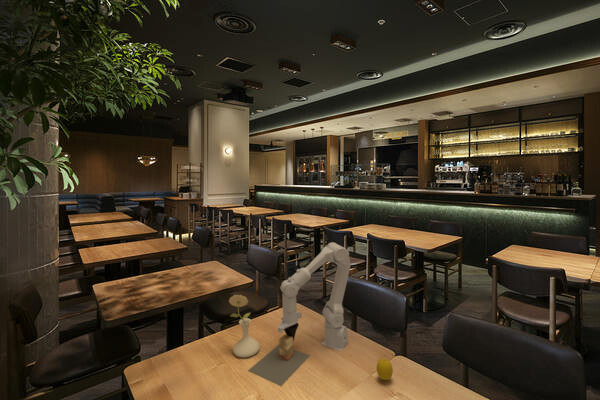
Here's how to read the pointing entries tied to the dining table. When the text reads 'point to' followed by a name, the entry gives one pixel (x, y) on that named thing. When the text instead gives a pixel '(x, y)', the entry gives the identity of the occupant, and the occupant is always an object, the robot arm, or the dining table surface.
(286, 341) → the maple block
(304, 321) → the dining table surface
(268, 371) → the rubber mat
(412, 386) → the dining table surface
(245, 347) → the flower in vase
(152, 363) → the dining table surface
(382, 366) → the lemon
